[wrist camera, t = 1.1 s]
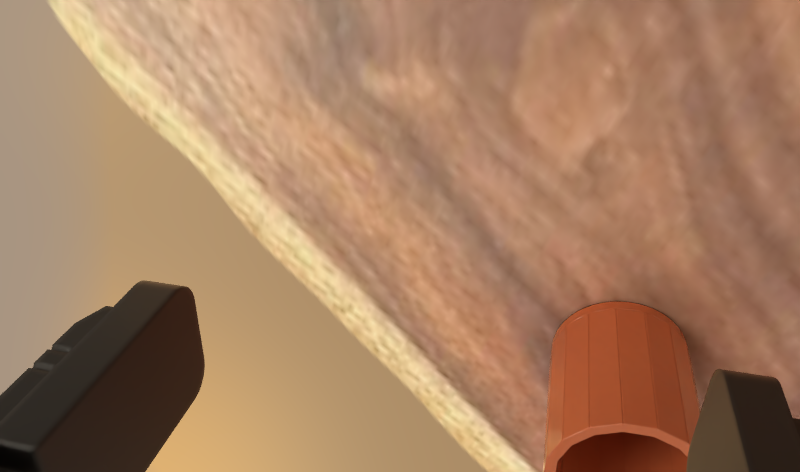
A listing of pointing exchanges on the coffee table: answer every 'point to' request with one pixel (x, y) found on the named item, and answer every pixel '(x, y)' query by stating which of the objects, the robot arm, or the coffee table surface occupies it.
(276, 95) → the coffee table surface
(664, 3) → the coffee table surface
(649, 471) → the pot
